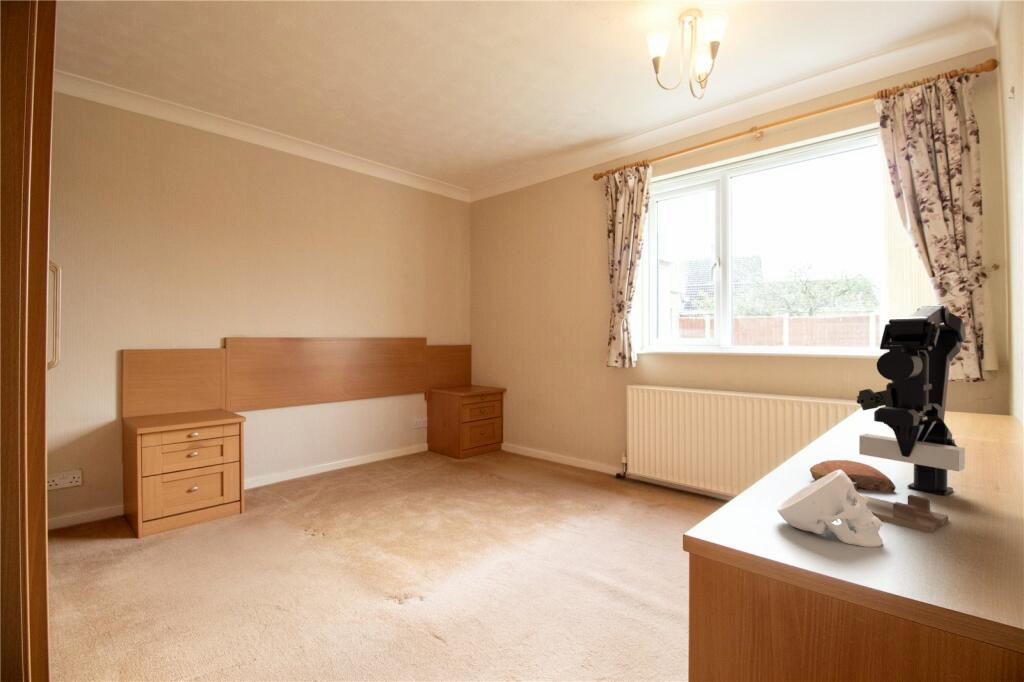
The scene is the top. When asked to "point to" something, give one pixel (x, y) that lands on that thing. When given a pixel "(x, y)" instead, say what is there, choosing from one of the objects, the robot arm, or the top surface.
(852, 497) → the skull bowl
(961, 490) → the top surface
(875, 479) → the ceramic shard
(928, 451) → the clay strip
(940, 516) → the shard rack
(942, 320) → the robot arm
